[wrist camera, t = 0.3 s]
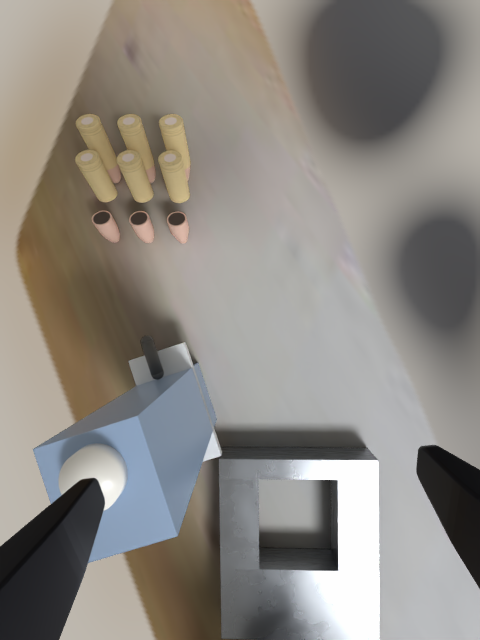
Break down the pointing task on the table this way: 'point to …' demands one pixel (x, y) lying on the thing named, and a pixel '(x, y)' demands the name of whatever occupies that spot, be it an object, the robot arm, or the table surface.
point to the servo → (139, 451)
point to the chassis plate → (300, 564)
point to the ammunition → (135, 171)
